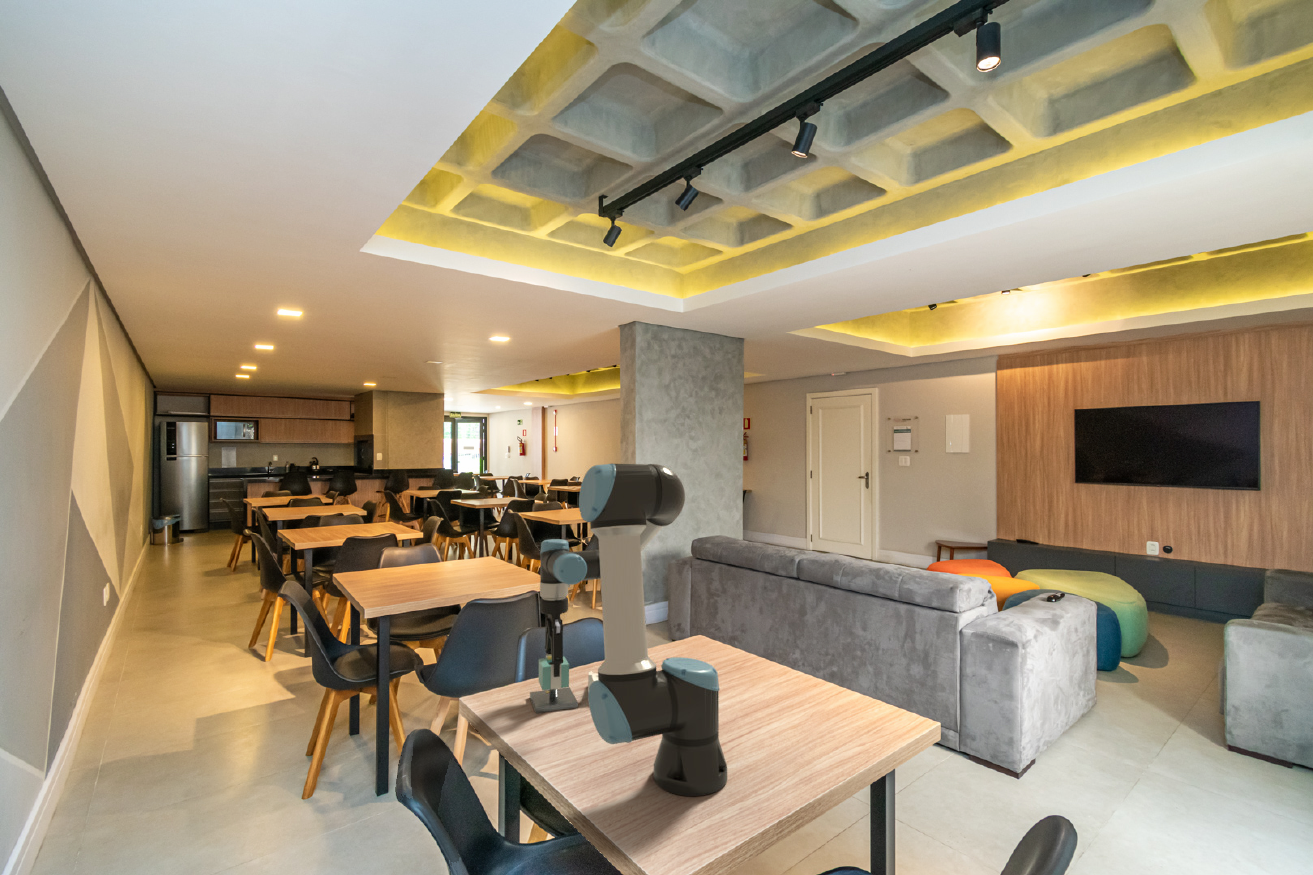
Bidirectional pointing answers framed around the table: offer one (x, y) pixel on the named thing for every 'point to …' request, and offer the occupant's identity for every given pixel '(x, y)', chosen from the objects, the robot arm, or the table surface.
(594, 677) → the bracket
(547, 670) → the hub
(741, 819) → the table surface
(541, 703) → the shaft base
